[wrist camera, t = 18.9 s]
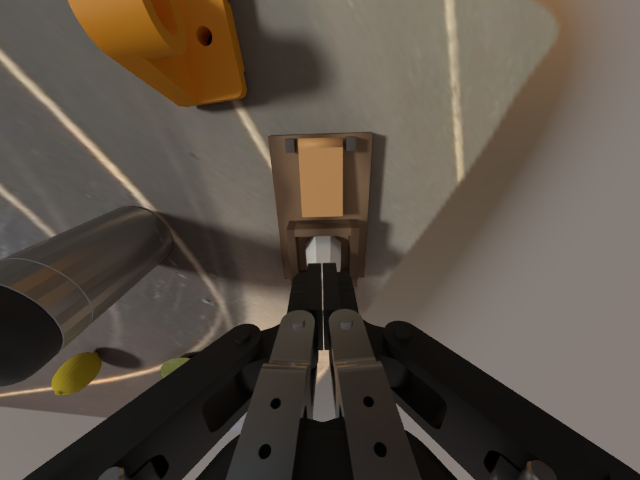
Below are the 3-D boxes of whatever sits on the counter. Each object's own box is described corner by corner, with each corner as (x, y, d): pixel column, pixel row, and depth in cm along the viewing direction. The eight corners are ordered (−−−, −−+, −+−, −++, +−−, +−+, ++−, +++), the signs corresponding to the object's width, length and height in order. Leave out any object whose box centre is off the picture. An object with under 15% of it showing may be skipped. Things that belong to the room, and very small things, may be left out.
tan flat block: (302, 214, 31) (302, 217, 30) (298, 138, 28) (297, 138, 27) (341, 213, 31) (342, 216, 30) (341, 137, 28) (342, 136, 26)
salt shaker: (333, 225, 33) (338, 271, 23) (348, 257, 35) (358, 311, 25) (297, 240, 34) (288, 290, 24) (314, 270, 36) (311, 327, 26)
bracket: (250, 98, 28) (206, 85, 17) (190, 107, 28) (111, 99, 18) (223, -30, 23) (138, -159, 12) (151, -18, 24) (9, -132, 13)
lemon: (109, 365, 49) (73, 407, 42) (79, 356, 48) (37, 397, 41) (114, 349, 47) (77, 391, 40) (83, 339, 46) (39, 379, 38)
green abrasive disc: (232, 365, 49) (228, 374, 47) (207, 392, 53) (203, 401, 51) (179, 340, 46) (173, 349, 44) (157, 371, 50) (151, 380, 48)
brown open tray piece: (286, 271, 38) (281, 291, 34) (271, 135, 30) (262, 138, 25) (361, 269, 38) (367, 289, 34) (369, 131, 29) (378, 134, 25)
